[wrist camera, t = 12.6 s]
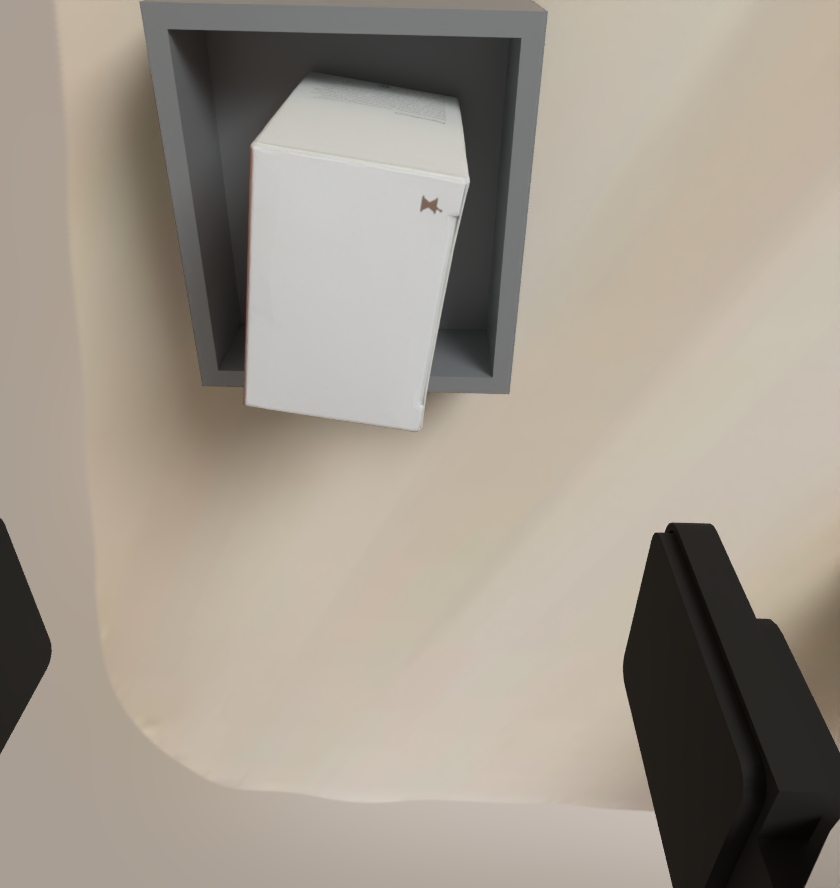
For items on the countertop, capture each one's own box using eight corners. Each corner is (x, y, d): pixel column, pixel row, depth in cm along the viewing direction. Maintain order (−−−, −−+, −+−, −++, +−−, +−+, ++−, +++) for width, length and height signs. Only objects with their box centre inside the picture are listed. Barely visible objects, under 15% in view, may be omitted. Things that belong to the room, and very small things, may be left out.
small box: (308, 67, 27) (246, 132, 18) (462, 95, 27) (473, 172, 19) (292, 277, 31) (237, 411, 23) (425, 299, 32) (420, 438, 23)
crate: (530, -2, 26) (547, 11, 22) (500, 337, 34) (509, 394, 29) (186, -10, 26) (139, 1, 22) (231, 329, 34) (202, 385, 29)
